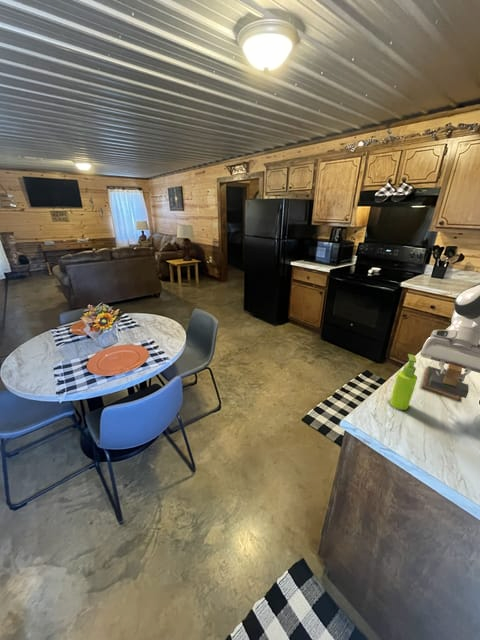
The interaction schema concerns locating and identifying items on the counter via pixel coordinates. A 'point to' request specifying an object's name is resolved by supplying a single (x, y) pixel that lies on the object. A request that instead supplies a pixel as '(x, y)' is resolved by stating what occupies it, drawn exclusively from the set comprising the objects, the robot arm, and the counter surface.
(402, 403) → the soap dispenser
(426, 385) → the chalkboard
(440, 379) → the eraser
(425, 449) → the counter surface
